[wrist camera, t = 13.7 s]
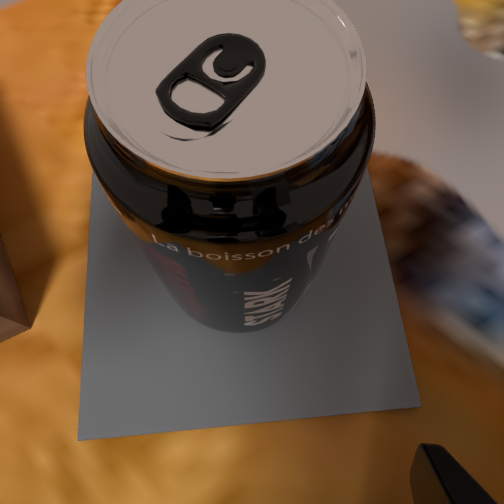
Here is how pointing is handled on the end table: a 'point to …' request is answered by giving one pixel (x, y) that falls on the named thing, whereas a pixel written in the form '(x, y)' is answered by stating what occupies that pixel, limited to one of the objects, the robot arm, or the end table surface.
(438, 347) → the end table surface
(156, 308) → the slate mat
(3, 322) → the pocket frame
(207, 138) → the beverage can
